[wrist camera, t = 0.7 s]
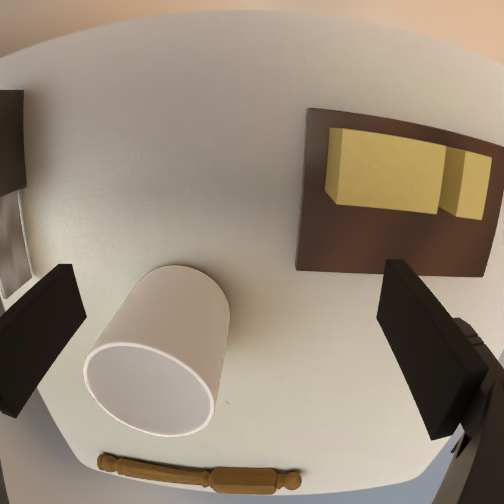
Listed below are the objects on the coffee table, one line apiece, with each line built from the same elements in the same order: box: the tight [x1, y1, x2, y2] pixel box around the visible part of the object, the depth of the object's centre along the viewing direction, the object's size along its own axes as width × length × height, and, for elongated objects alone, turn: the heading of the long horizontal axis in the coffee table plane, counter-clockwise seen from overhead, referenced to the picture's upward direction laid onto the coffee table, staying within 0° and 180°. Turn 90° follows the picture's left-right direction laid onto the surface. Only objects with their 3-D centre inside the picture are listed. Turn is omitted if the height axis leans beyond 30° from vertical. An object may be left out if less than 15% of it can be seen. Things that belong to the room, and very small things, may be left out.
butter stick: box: [325, 128, 446, 214], centre depth 20 cm, size 7×4×4 cm, turn 88°
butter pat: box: [438, 147, 492, 220], centre depth 19 cm, size 2×4×4 cm, turn 178°
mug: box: [83, 265, 230, 437], centre depth 23 cm, size 9×12×11 cm
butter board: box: [295, 108, 504, 277], centre depth 23 cm, size 18×12×1 cm, turn 88°
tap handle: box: [97, 454, 302, 495], centre depth 37 cm, size 3×3×30 cm
